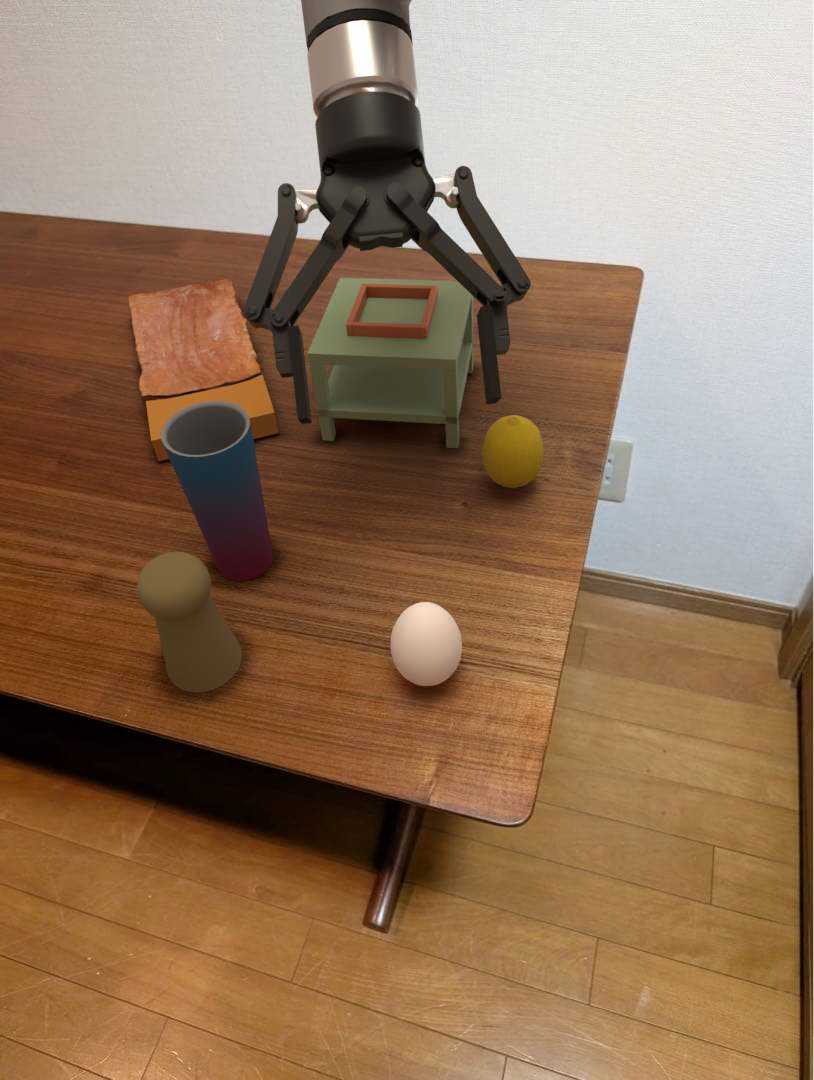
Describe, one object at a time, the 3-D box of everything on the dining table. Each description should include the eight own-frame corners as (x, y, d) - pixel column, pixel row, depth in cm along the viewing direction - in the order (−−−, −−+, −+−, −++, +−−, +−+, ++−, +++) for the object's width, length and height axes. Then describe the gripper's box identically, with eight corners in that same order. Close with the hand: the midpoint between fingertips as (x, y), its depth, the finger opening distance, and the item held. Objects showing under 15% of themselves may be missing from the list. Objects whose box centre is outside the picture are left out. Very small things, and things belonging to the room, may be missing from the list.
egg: (456, 707, 62) (454, 646, 57) (387, 697, 63) (378, 636, 58) (467, 650, 66) (466, 587, 60) (401, 641, 67) (394, 579, 61)
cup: (235, 601, 71) (191, 469, 60) (192, 560, 75) (144, 428, 64) (298, 559, 74) (267, 426, 63) (254, 521, 77) (218, 389, 67)
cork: (192, 622, 70) (155, 531, 62) (255, 641, 68) (226, 549, 60) (152, 680, 66) (107, 590, 58) (218, 701, 64) (181, 611, 56)
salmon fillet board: (154, 464, 84) (145, 439, 82) (134, 317, 104) (126, 293, 102) (281, 435, 86) (275, 409, 84) (237, 296, 106) (231, 272, 104)
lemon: (477, 501, 78) (477, 434, 72) (487, 463, 81) (488, 396, 75) (536, 508, 76) (541, 441, 71) (544, 469, 80) (549, 401, 74)
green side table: (473, 367, 92) (472, 270, 84) (457, 448, 83) (455, 348, 75) (350, 362, 95) (338, 266, 86) (322, 440, 85) (305, 342, 77)
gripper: (531, 122, 63) (560, 400, 64) (203, 154, 63) (235, 435, 63) (551, 68, 56) (584, 384, 56) (178, 104, 55) (215, 423, 56)
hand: (399, 411), depth 60 cm, fingers open, 13 cm apart
